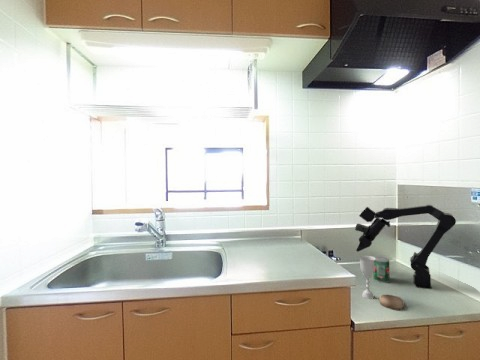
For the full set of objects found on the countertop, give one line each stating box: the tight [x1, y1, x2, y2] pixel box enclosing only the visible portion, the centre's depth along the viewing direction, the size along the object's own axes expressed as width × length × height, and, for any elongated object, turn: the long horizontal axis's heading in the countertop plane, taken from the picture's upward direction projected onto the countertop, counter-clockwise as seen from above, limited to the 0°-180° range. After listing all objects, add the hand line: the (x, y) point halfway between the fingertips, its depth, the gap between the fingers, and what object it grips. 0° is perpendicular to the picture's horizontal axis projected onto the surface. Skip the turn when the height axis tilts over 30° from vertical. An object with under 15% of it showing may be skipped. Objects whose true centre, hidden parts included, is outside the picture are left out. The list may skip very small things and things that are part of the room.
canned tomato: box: [372, 256, 391, 284], centre depth 143 cm, size 8×8×11 cm
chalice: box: [358, 255, 376, 300], centre depth 124 cm, size 7×7×18 cm
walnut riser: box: [379, 294, 404, 311], centre depth 116 cm, size 9×9×2 cm
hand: (358, 248), depth 150 cm, fingers open, 9 cm apart
